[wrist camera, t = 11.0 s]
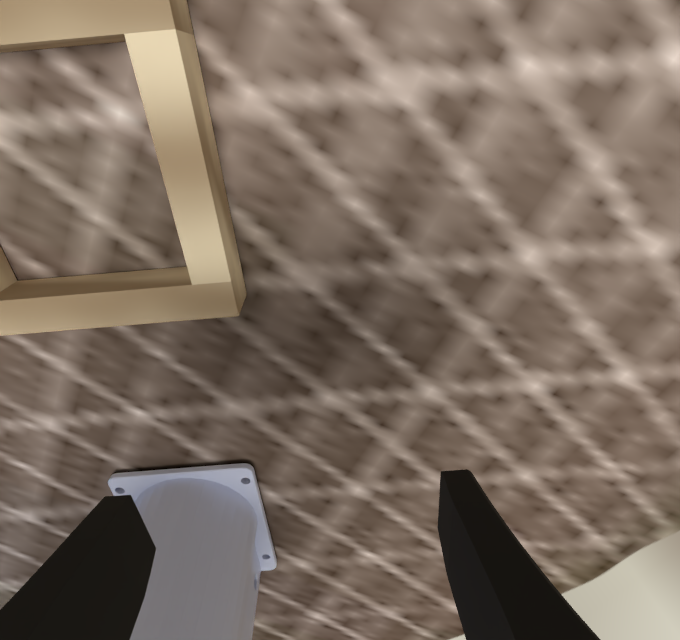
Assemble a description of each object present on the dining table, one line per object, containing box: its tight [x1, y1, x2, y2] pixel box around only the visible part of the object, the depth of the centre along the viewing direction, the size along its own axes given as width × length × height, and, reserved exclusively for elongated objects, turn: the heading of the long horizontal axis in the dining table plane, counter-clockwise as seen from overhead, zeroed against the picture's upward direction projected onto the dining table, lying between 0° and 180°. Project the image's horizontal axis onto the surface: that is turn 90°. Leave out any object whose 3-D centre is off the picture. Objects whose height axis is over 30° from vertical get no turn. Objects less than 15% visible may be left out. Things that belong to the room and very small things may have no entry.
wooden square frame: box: [0, 0, 247, 336], centre depth 15 cm, size 11×11×2 cm
